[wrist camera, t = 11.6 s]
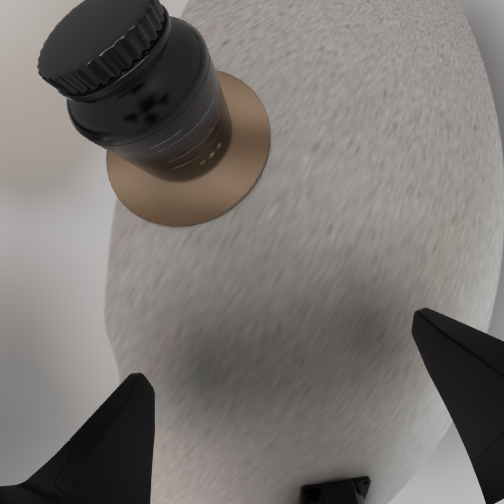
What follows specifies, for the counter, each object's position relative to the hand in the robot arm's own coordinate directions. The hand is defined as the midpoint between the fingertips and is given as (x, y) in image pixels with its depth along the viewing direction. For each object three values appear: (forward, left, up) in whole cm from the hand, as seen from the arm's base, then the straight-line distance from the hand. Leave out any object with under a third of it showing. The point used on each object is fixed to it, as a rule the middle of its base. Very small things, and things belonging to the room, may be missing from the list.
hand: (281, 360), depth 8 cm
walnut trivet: (+11, +6, -10) cm, 16 cm away
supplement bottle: (+11, +5, -9) cm, 16 cm away
